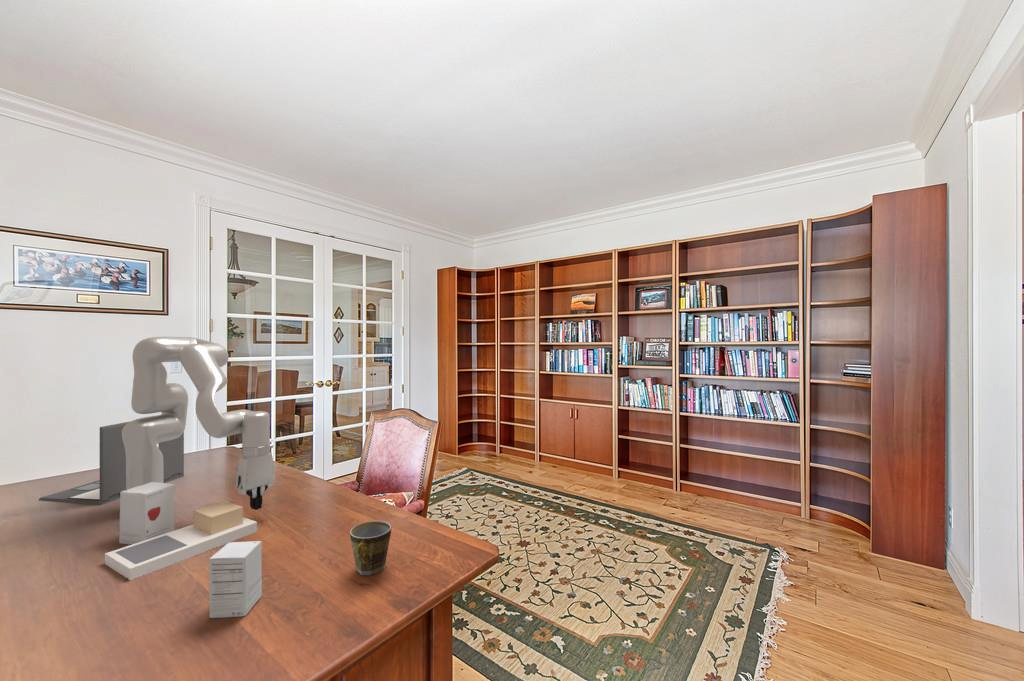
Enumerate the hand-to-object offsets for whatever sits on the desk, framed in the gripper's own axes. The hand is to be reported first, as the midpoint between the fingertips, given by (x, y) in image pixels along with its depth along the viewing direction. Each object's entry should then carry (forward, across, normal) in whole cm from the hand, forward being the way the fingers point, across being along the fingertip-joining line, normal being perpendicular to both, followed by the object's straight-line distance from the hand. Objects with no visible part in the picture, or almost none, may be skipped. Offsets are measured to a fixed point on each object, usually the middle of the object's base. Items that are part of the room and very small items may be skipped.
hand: (256, 508), depth 134 cm
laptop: (+5, +9, -77) cm, 78 cm away
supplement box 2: (+5, +27, +40) cm, 48 cm away
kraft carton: (+1, +11, 0) cm, 11 cm away
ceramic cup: (+5, +3, +54) cm, 54 cm away
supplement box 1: (+5, +22, -16) cm, 28 cm away
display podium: (+4, +19, 0) cm, 19 cm away
